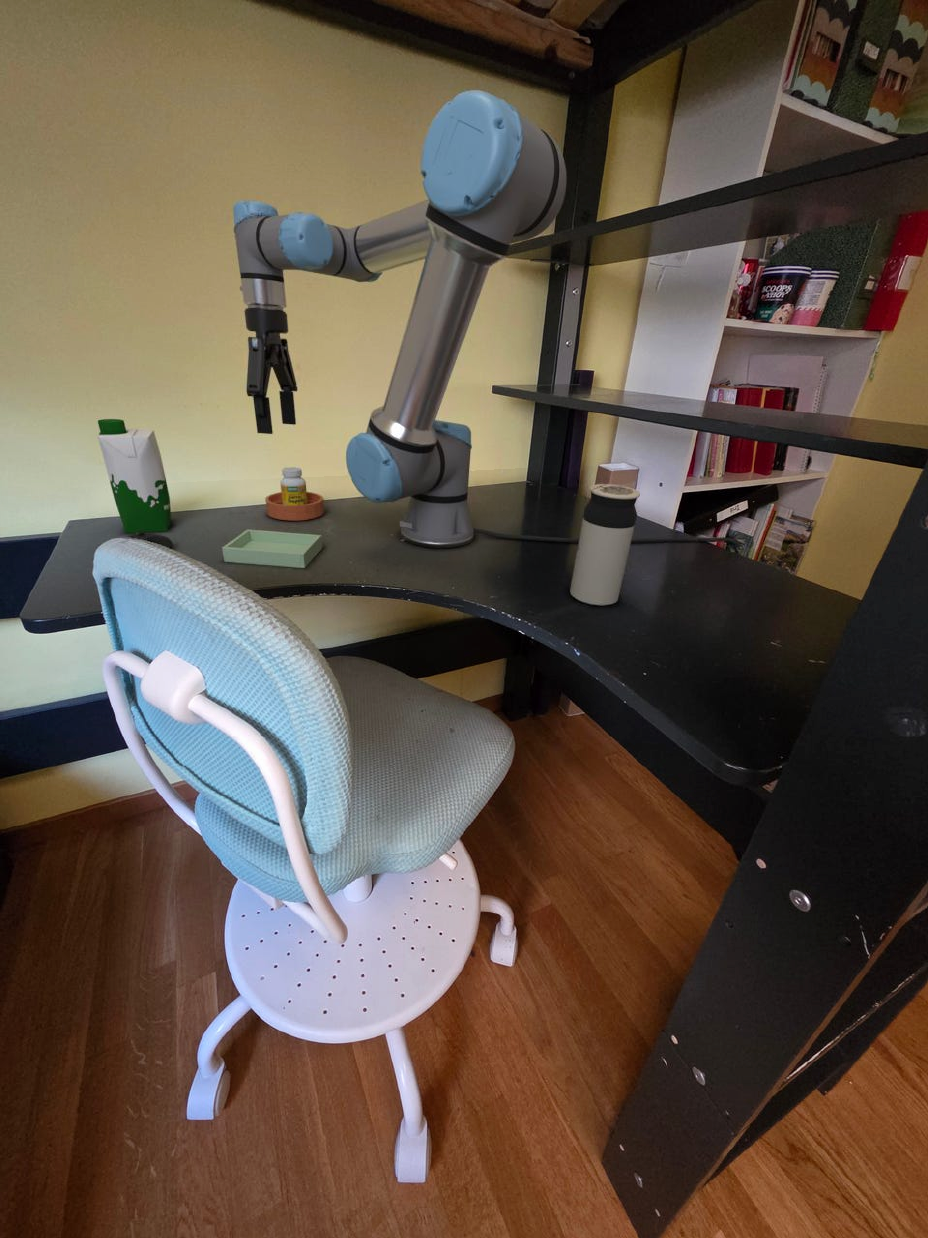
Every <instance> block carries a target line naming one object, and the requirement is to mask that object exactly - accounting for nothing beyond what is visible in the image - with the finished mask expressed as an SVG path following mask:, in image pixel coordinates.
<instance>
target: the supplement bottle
mask: <svg viewBox="0 0 928 1238" xmlns="http://www.w3.org/2000/svg"><path fill="white" fill-rule="evenodd" d="M302 471H303V470H302V468H300V467H295V466H294V467H293V466H292V467H289V466H288V467H283V468H282V469H281V472H282V474H281V475H282V476H283V478H281V480H280V483H279V484H280V491H281V492H282V501H283V505H306V504H308V501H307V492H308V489H307V482H306V480H305V478H303V477H302V475H303V472H302Z"/></svg>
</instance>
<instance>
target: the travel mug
mask: <svg viewBox="0 0 928 1238" xmlns="http://www.w3.org/2000/svg"><path fill="white" fill-rule="evenodd" d="M589 491H590V500H589V501H588V502H587V504H586V505H585V507H584V510H583V516H582V522H581V527H580V533H579V538H578V539H579V543H577V550H576V555H575V561H574V567H573V571H572V572H573V573H572V577H571V583H570V589H569V593H570V595H571V596H572V597H573V598H575V599H576V600H577V601H579V602H581V603H584V604H588V605H592V606H609V605H614V604H615V603H617V602H618V600H619V597H620V591H621V588H622V584H623V579H624V575H625V570H626V566H627V562H628V557H629V552H630V548H631V544H632V543H631V540H632V538H633V535H634V531H635V526H636V521H637V517H638V513H637V509H636V506H635V505H636V502H637V500H638V498H639V497H640V496H641V493H640V491H639V490H637V489H635V488H632V487H629V486H625V485H619V484H613V483H612V484H611V483H597V484H593V485H591V486H590V487H589Z"/></svg>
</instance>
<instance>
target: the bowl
mask: <svg viewBox="0 0 928 1238" xmlns="http://www.w3.org/2000/svg"><path fill="white" fill-rule="evenodd" d="M307 501H308V504H306V505H283V501H282V492H275V493H272V494H269V495H267V496H266V497H265V507H266V514H267V516H269V517H270V518H272V519H276V520H282V521H292V522H297V521H307V520H312V519H316V518H319V517H321V516H323V515H324V514H325V507H324V506H325V505H324V496H323V495H321V494H319V493H316V492H312V491H311V492H310V491H307Z"/></svg>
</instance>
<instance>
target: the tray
mask: <svg viewBox="0 0 928 1238" xmlns="http://www.w3.org/2000/svg"><path fill="white" fill-rule="evenodd" d="M221 549H222V555H223V560H224V561H223V562H225V563H237V564H248V565H262V566H273V567H285V568H286V567H287V568H298V569H300V568H301V569H306V568H307V566H308V565H310V563H311V562H312V560H314V558H315V557H316V556H317V555H318V554H319V552H321V550H322V549H323V538H322V535H321V534H312V533H311V534H310V533H299V532H284V531H272V530H261V529H246V530H245V531H243V532H242V533H240V534H239V535H238V536H236V537H235V538H234V539H231V541H229V542H228V543H227V544H225V545H224V546H222V548H221Z"/></svg>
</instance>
